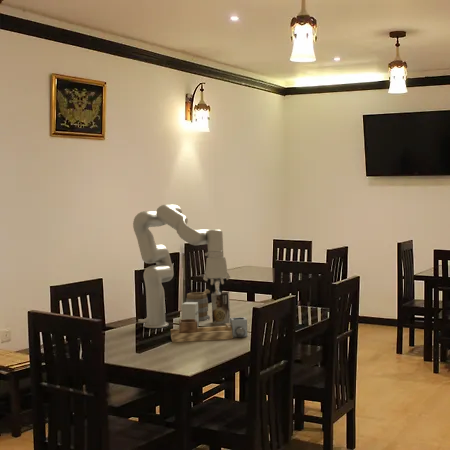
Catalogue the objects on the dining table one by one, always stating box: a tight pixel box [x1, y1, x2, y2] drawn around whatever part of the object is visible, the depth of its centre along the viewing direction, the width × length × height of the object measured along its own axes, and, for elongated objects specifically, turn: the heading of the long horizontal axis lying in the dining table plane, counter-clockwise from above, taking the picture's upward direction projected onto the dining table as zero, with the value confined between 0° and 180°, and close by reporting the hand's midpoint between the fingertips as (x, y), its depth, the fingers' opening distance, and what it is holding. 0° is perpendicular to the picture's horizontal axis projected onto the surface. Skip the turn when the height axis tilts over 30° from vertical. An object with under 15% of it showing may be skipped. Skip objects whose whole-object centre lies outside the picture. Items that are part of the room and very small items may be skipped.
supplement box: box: [180, 301, 200, 327], centre depth 355 cm, size 7×7×13 cm
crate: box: [178, 318, 199, 333], centre depth 327 cm, size 8×9×7 cm
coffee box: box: [210, 291, 231, 325], centre depth 366 cm, size 9×6×16 cm
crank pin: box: [213, 278, 221, 295], centre depth 339 cm, size 3×3×8 cm
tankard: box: [185, 288, 211, 322], centre depth 382 cm, size 20×13×15 cm, turn 148°
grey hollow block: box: [229, 316, 248, 339], centre depth 329 cm, size 7×10×8 cm
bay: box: [170, 323, 234, 343], centre depth 328 cm, size 28×13×5 cm, turn 97°
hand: (217, 292), depth 339 cm, fingers closed on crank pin, 3 cm apart
